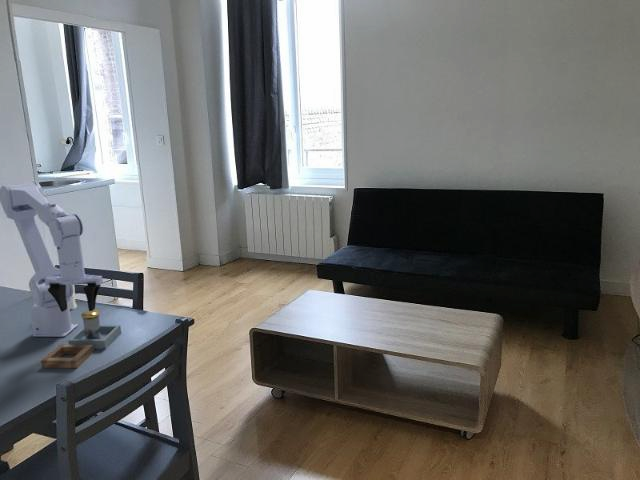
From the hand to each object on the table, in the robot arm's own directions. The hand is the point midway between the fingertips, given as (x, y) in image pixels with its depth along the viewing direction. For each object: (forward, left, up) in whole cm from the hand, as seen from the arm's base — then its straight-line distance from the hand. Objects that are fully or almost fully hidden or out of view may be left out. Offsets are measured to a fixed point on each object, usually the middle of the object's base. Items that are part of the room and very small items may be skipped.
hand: (78, 310), depth 142 cm
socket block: (+1, -9, -10) cm, 13 cm away
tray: (+3, +2, -10) cm, 11 cm away
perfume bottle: (-17, +26, -10) cm, 33 cm away
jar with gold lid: (+2, +1, -10) cm, 10 cm away
